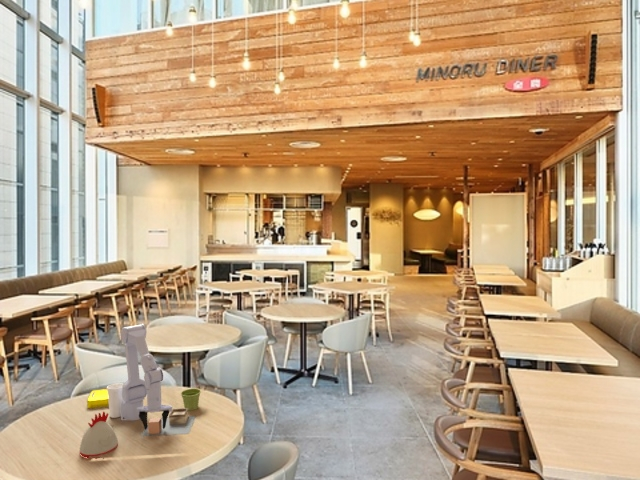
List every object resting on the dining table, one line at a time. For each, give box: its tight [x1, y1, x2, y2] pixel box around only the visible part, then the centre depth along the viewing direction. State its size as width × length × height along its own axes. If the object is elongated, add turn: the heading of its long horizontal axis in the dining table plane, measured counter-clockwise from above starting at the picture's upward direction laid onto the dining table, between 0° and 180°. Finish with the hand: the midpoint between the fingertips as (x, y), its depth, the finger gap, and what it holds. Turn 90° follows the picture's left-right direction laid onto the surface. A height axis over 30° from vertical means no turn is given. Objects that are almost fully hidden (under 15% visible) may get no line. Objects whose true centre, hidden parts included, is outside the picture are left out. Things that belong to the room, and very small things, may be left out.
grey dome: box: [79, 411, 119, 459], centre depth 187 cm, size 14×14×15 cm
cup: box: [106, 382, 125, 419], centre depth 220 cm, size 8×8×14 cm
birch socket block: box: [168, 407, 189, 424], centre depth 212 cm, size 7×7×4 cm
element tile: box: [86, 388, 109, 409], centre depth 238 cm, size 15×15×5 cm
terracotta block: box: [147, 417, 162, 434], centre depth 201 cm, size 4×4×5 cm
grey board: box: [140, 415, 197, 437], centre depth 206 cm, size 20×18×1 cm
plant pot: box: [180, 388, 202, 411], centre depth 226 cm, size 9×9×9 cm
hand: (155, 428), depth 201 cm, fingers open, 7 cm apart
